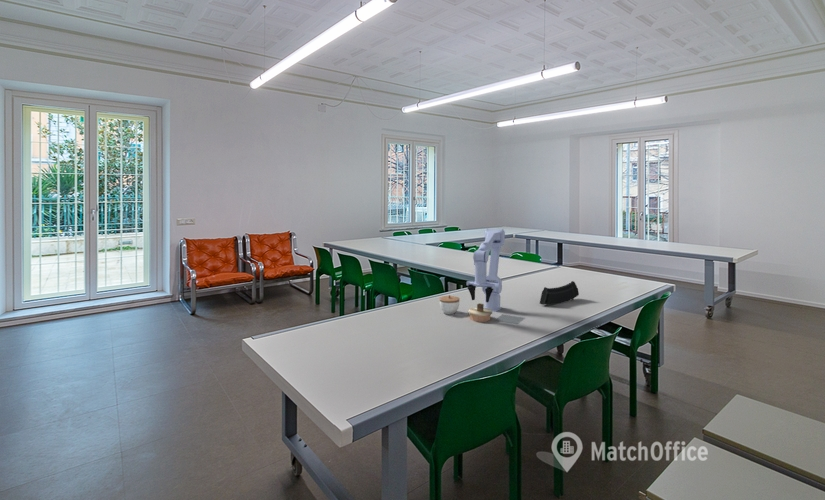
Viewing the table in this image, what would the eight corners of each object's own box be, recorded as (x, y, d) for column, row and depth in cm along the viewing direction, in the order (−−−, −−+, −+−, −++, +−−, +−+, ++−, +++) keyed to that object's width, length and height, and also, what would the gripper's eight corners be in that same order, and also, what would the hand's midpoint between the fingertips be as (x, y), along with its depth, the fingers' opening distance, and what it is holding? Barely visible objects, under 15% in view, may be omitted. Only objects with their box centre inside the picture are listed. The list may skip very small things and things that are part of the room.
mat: (502, 315, 223) (502, 314, 223) (525, 318, 217) (525, 317, 217) (493, 320, 213) (493, 320, 213) (517, 324, 207) (517, 324, 207)
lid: (474, 308, 224) (474, 300, 224) (495, 311, 218) (496, 303, 217) (464, 313, 214) (464, 305, 214) (486, 317, 208) (486, 308, 207)
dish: (475, 315, 223) (475, 308, 223) (493, 318, 218) (493, 311, 217) (466, 320, 215) (466, 313, 214) (485, 323, 209) (485, 316, 209)
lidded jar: (463, 313, 228) (463, 295, 226) (447, 316, 222) (447, 298, 220) (450, 308, 236) (450, 292, 235) (435, 311, 230) (435, 294, 229)
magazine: (541, 291, 236) (575, 270, 250) (536, 290, 239) (570, 270, 253) (546, 319, 241) (579, 297, 255) (541, 317, 244) (575, 295, 258)
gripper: (463, 274, 214) (463, 300, 216) (491, 277, 206) (490, 304, 208) (469, 271, 220) (469, 297, 221) (496, 274, 212) (496, 301, 214)
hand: (480, 300), depth 215 cm, fingers open, 7 cm apart
